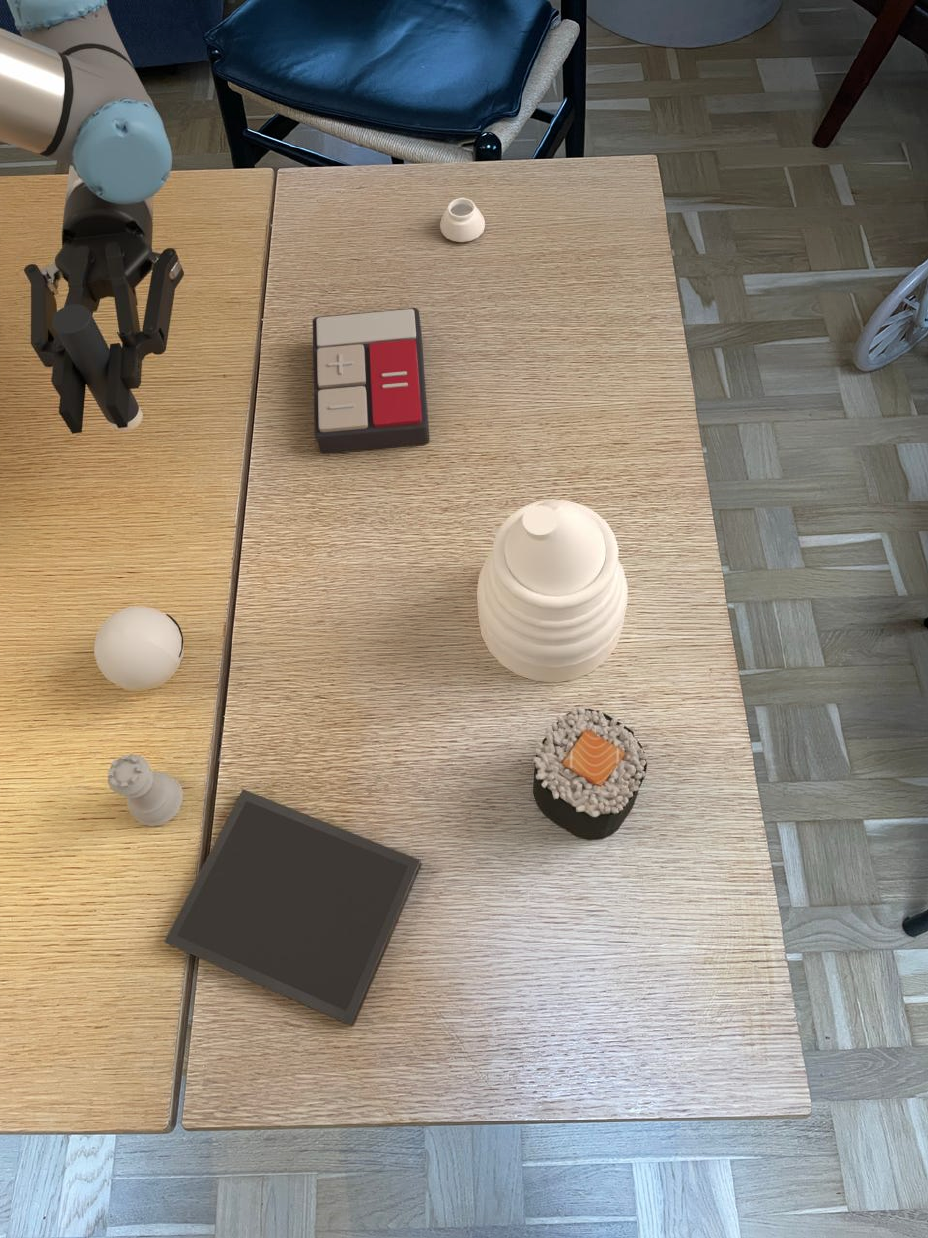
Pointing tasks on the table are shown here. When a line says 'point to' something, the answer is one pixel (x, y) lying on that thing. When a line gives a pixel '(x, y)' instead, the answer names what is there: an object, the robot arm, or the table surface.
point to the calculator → (369, 381)
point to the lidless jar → (462, 221)
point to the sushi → (588, 773)
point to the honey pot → (552, 592)
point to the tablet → (295, 906)
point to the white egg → (139, 648)
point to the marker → (91, 358)
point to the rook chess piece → (145, 790)
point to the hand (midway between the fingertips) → (93, 419)
